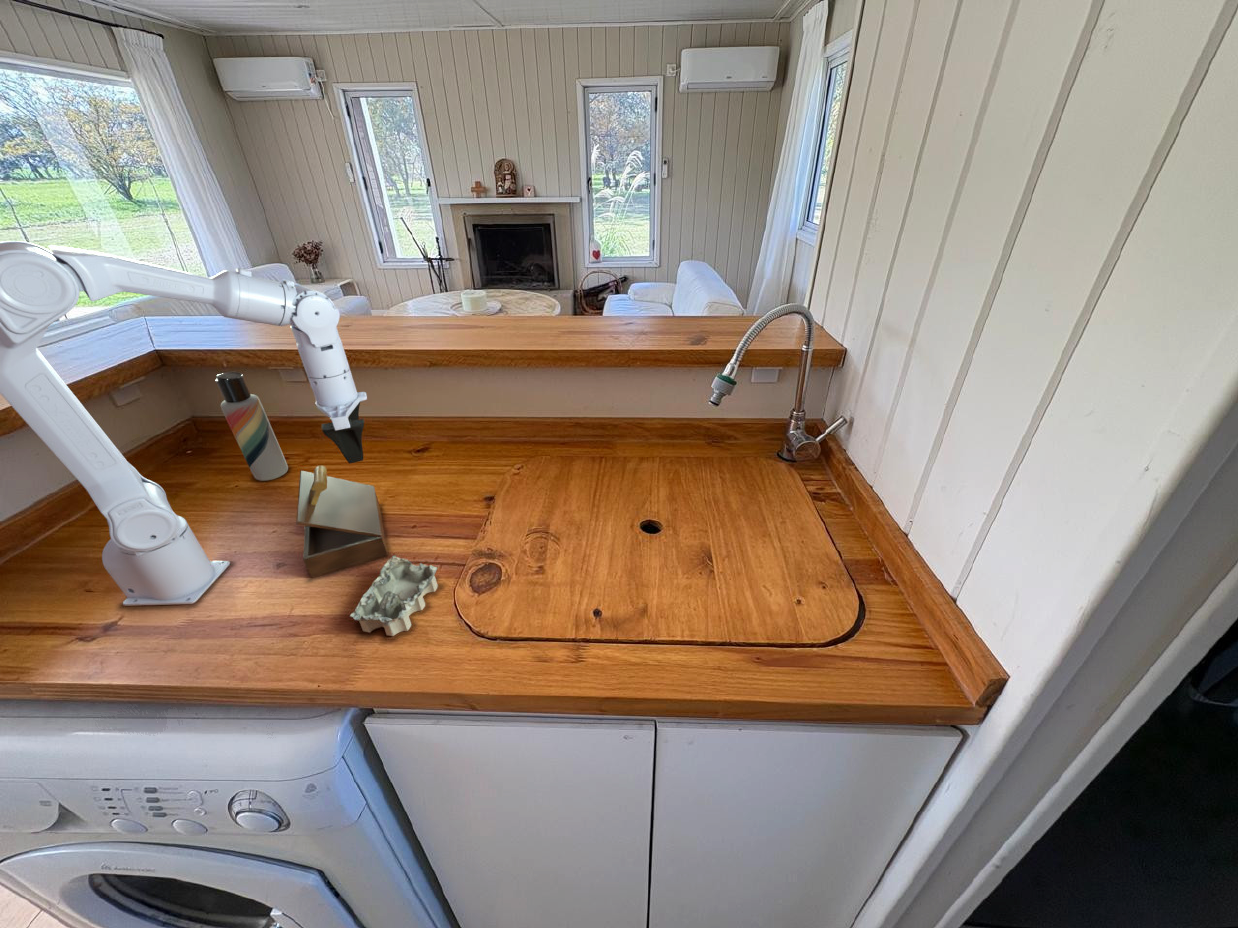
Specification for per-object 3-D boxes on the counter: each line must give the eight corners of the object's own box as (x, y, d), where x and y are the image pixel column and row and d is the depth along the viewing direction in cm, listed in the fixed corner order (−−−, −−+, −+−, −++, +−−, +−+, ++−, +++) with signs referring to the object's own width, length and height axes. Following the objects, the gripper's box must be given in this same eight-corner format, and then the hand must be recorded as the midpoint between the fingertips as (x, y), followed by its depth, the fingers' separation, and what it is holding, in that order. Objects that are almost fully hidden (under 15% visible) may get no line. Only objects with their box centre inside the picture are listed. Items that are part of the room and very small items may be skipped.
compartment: (311, 578, 71) (303, 559, 69) (313, 522, 82) (305, 505, 80) (387, 556, 75) (381, 537, 73) (379, 505, 86) (374, 488, 84)
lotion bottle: (256, 469, 96) (210, 371, 85) (290, 462, 98) (249, 366, 87) (252, 484, 91) (203, 383, 81) (287, 477, 93) (244, 377, 83)
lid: (296, 524, 66) (307, 496, 65) (299, 473, 77) (309, 448, 76) (380, 537, 73) (391, 512, 72) (373, 488, 84) (382, 465, 82)
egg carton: (401, 572, 72) (394, 551, 70) (447, 581, 70) (442, 560, 68) (349, 630, 63) (340, 607, 61) (401, 642, 61) (393, 619, 59)
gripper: (360, 383, 70) (385, 465, 77) (355, 352, 81) (377, 426, 88) (304, 392, 67) (335, 476, 74) (306, 359, 78) (333, 435, 85)
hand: (355, 450), depth 81 cm, fingers open, 7 cm apart
